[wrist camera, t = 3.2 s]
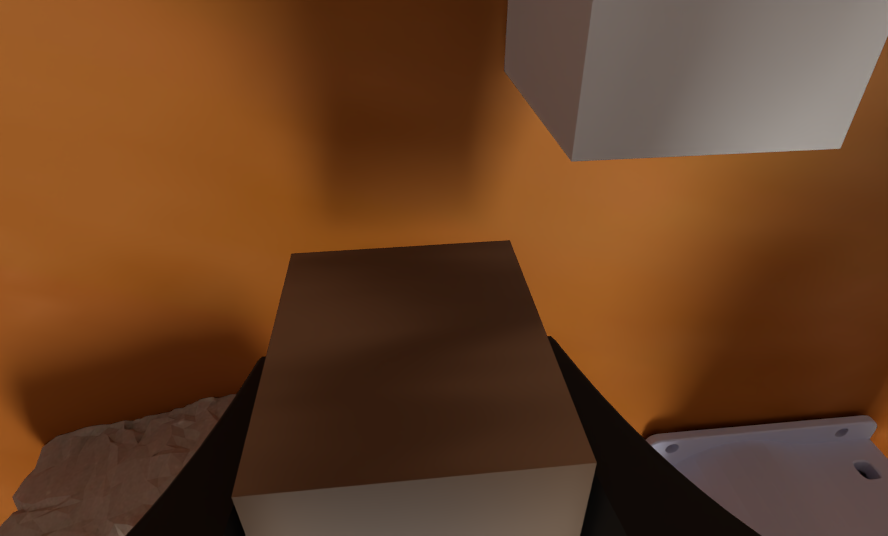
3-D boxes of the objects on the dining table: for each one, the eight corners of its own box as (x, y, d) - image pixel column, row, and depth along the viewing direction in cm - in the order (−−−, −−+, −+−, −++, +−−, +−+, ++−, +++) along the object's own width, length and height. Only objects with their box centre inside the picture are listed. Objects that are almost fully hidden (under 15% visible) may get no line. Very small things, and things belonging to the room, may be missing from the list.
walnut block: (509, 240, 11) (596, 463, 7) (499, 391, 14) (558, 628, 9) (291, 253, 11) (232, 497, 7) (321, 406, 14) (293, 659, 9)
